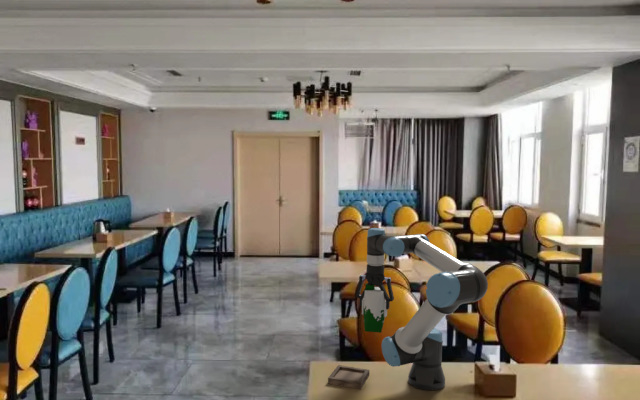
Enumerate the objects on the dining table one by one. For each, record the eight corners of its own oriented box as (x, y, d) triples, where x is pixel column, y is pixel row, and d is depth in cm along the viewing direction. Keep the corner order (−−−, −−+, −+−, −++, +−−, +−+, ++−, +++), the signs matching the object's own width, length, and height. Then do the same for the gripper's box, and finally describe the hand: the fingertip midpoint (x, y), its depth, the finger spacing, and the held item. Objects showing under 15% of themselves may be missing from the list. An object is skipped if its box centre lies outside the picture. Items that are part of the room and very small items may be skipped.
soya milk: (364, 325, 236) (365, 281, 234) (385, 327, 234) (386, 282, 232) (362, 332, 227) (363, 286, 225) (383, 333, 225) (384, 287, 224)
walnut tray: (369, 375, 227) (369, 369, 227) (360, 389, 214) (360, 383, 213) (338, 370, 231) (338, 365, 231) (327, 383, 218) (328, 377, 218)
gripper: (402, 264, 228) (400, 315, 230) (353, 260, 235) (352, 309, 237) (398, 268, 221) (397, 320, 223) (348, 263, 228) (347, 314, 230)
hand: (374, 314), depth 230 cm, fingers closed on soya milk, 9 cm apart
